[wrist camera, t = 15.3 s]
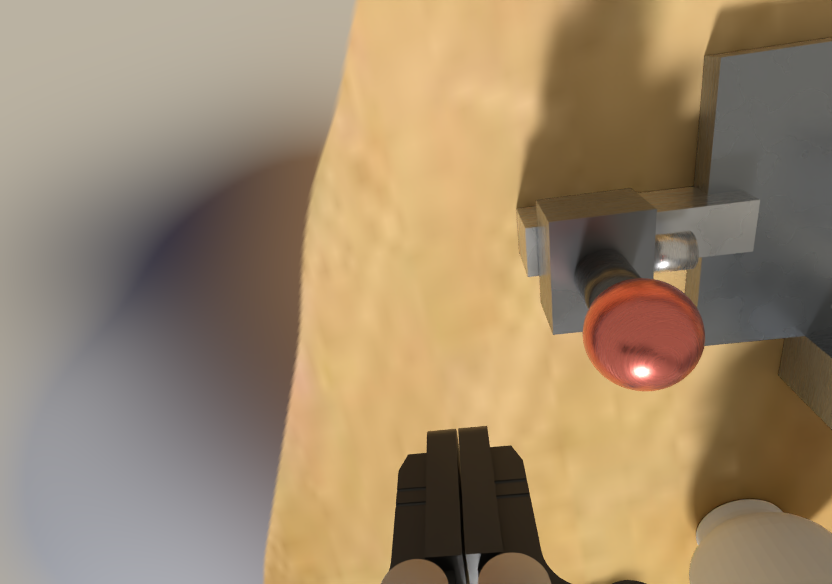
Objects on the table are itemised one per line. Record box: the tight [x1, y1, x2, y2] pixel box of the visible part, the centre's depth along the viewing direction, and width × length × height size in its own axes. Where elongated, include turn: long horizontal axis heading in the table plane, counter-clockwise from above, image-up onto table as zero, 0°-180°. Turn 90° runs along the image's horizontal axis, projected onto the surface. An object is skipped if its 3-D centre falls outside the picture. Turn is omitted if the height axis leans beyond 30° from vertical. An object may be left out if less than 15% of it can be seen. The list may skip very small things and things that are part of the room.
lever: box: [536, 188, 705, 391], centre depth 20 cm, size 6×5×9 cm
